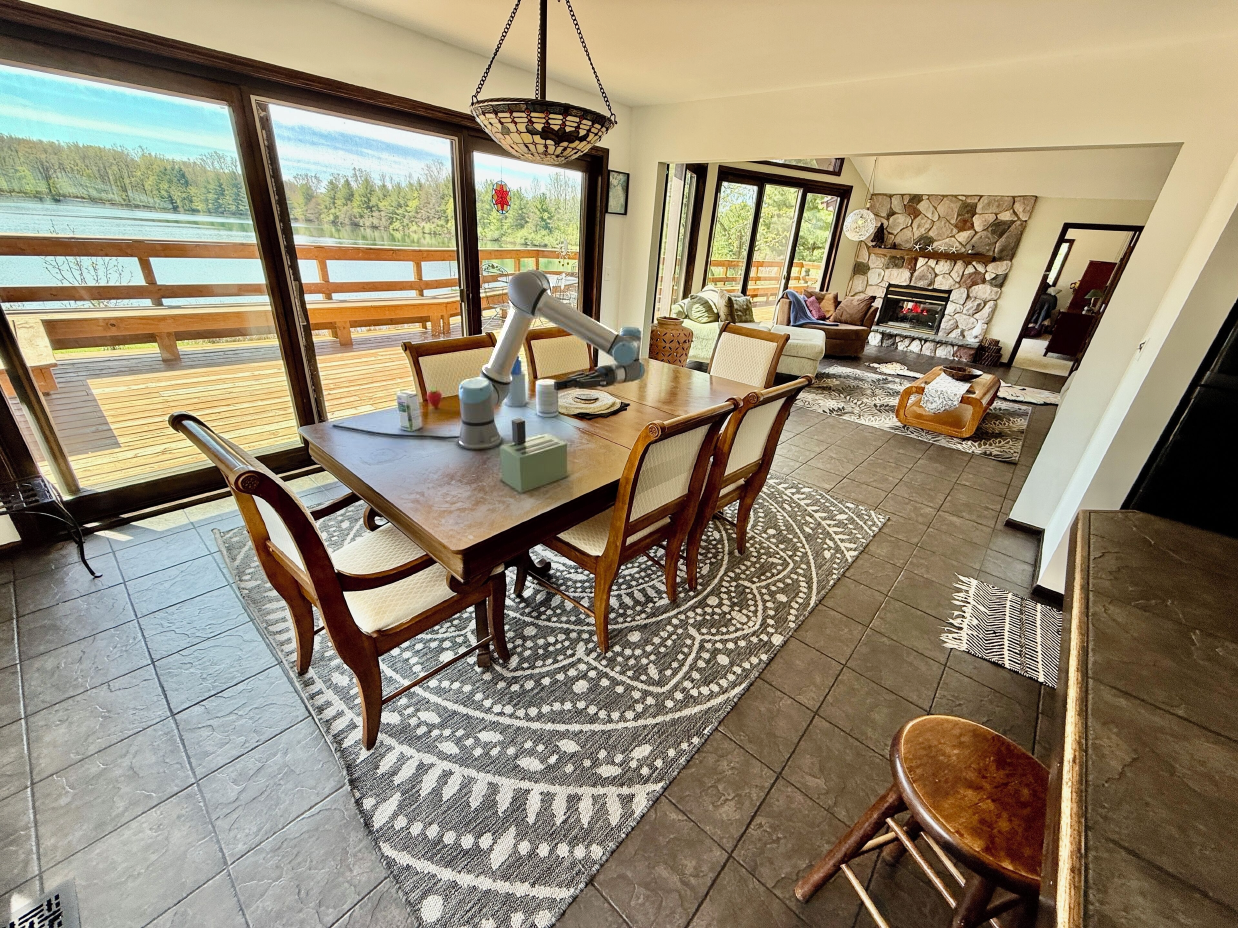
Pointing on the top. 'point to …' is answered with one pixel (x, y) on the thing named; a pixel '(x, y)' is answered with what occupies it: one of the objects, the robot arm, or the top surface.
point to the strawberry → (434, 397)
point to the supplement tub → (546, 398)
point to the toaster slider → (518, 431)
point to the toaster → (533, 462)
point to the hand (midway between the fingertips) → (555, 386)
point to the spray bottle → (517, 386)
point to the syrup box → (408, 410)
